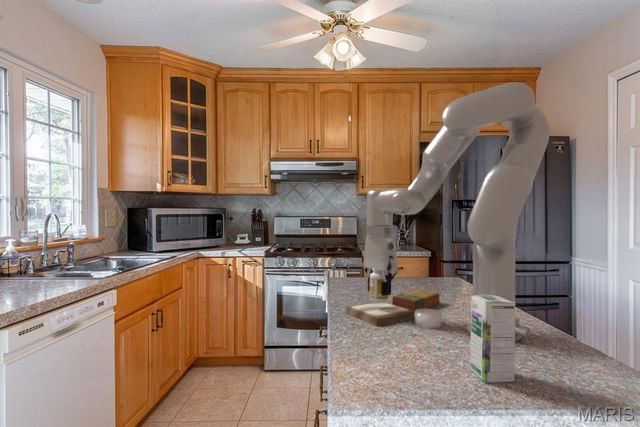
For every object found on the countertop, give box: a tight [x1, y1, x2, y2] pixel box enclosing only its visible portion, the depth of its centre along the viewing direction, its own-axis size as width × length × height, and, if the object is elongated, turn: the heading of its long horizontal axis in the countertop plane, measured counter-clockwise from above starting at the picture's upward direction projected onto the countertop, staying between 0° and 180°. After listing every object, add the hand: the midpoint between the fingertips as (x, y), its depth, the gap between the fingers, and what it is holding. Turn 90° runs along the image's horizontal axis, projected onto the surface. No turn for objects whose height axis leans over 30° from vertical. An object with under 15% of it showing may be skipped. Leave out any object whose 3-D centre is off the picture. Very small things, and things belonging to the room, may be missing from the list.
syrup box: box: [470, 295, 516, 384], centre depth 67 cm, size 6×6×14 cm
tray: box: [345, 301, 415, 327], centre depth 106 cm, size 14×14×2 cm
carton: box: [391, 288, 440, 314], centre depth 118 cm, size 8×16×4 cm, turn 135°
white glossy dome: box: [414, 308, 443, 329], centre depth 98 cm, size 7×7×4 cm
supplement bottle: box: [369, 267, 389, 302], centre depth 106 cm, size 5×5×10 cm
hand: (379, 292), depth 106 cm, fingers closed on supplement bottle, 5 cm apart
